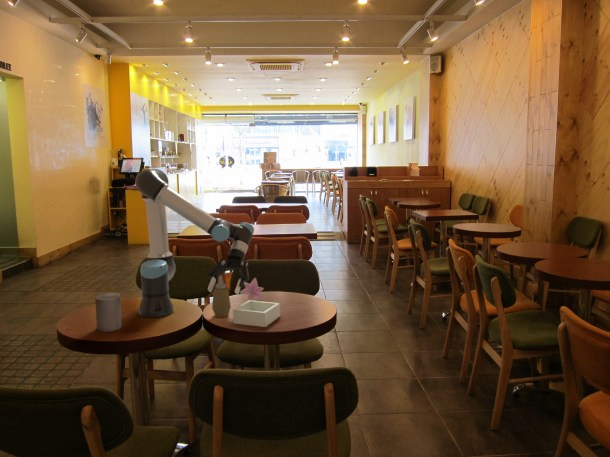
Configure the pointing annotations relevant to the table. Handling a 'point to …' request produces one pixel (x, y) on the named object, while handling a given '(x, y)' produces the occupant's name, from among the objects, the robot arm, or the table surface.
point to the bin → (256, 313)
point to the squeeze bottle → (221, 299)
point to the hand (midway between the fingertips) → (222, 292)
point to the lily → (252, 290)
